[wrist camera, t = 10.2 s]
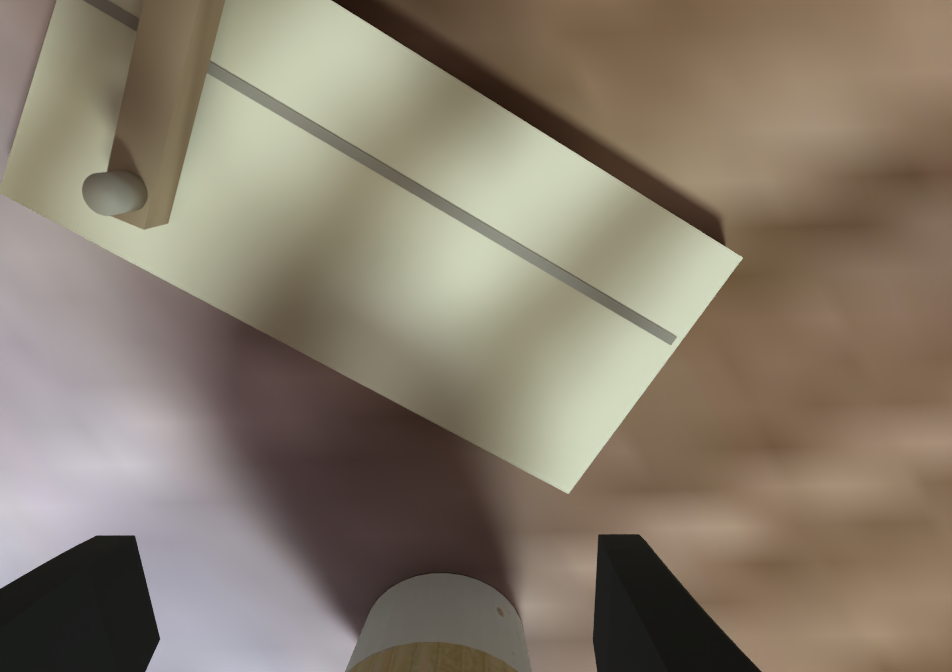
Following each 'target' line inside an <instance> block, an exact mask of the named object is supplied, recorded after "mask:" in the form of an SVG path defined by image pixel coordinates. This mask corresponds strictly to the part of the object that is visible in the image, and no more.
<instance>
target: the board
mask: <svg viewBox="0 0 952 672" xmlns="http://www.w3.org/2000/svg"><path fill="white" fill-rule="evenodd" d="M143 1H144V0H57V1H56V4H55V7H54V11H53V14H52V17H51V21H50V24H49V27H48V30H47V34H46V37H45V40H44V44H43V47H42V50H41V53H40V57H39V60H38V63H37V67H36V70H35V73H34V76H33V80H32V83H31V86H30V90H29V93H28V96H27V99H26V103H25V106H24V109H23V113H22V116H21V119H20V122H19V126H18V129H17V132H16V136H15V139H14V142H13V145H12V149H11V152H10V155H9V159H8V162H7V165H6V168H5V172H4V175H3V178H2V182H1V185H0V193H1V194H2V195H4V196H6V197H8V198H10V199H12V200H14V201H16V202H18V203H19V204H21V205H23V206H25V207H27V208H29V209H31V210H33V211H35V212H36V213H38V214H40V215H42V216H44V217H46V218H48V219H50V220H52V221H53V222H55V223H57V224H59V225H61V226H63V227H65V228H67V229H69V230H70V231H72V232H74V233H76V234H78V235H80V236H82V237H84V238H86V239H87V240H89V241H91V242H93V243H95V244H97V245H99V246H101V247H103V248H104V249H106V250H108V251H110V252H112V253H114V254H116V255H118V256H120V257H121V258H123V259H125V260H127V261H129V262H131V263H133V264H135V265H137V266H138V267H140V268H142V269H144V270H146V271H148V272H150V273H152V274H154V275H156V276H157V277H159V278H161V279H163V280H165V281H167V282H169V283H171V284H173V285H174V286H176V287H178V288H180V289H182V290H184V291H186V292H188V293H190V294H191V295H193V296H195V297H197V298H199V299H201V300H203V301H205V302H207V303H208V304H210V305H212V306H214V307H216V308H218V309H220V310H222V311H224V312H225V313H227V314H229V315H231V316H233V317H235V318H237V319H239V320H241V321H242V322H244V323H246V324H248V325H250V326H252V327H254V328H256V329H258V330H259V331H261V332H263V333H265V334H267V335H269V336H271V337H273V338H275V339H276V340H278V341H280V342H282V343H284V344H286V345H288V346H290V347H292V348H293V349H295V350H297V351H299V352H301V353H303V354H305V355H307V356H309V357H310V358H312V359H314V360H316V361H318V362H320V363H322V364H324V365H326V366H327V367H329V368H331V369H333V370H335V371H337V372H339V373H341V374H343V375H344V376H346V377H348V378H350V379H352V380H354V381H356V382H358V383H360V384H362V385H363V386H365V387H367V388H369V389H371V390H373V391H375V392H377V393H379V394H380V395H382V396H384V397H386V398H388V399H390V400H392V401H394V402H396V403H397V404H399V405H401V406H403V407H405V408H407V409H409V410H411V411H413V412H414V413H416V414H418V415H420V416H422V417H424V418H426V419H428V420H430V421H431V422H433V423H435V424H437V425H439V426H441V427H443V428H445V429H447V430H448V431H450V432H452V433H454V434H456V435H458V436H460V437H462V438H464V439H465V440H467V441H469V442H471V443H473V444H475V445H477V446H479V447H481V448H482V449H484V450H486V451H488V452H490V453H492V454H494V455H496V456H498V457H499V458H501V459H503V460H505V461H507V462H509V463H511V464H513V465H515V466H516V467H518V468H520V469H522V470H524V471H526V472H528V473H530V474H532V475H533V476H535V477H537V478H539V479H541V480H543V481H545V482H547V483H549V484H550V485H552V486H554V487H556V488H558V489H560V490H562V491H564V492H566V493H568V494H569V492H570V491H571V490H572V488H573V487H574V486H575V484H576V483H577V482H578V480H579V479H580V477H581V476H582V475H583V473H584V472H585V471H586V469H587V468H588V467H589V465H590V464H591V463H592V461H593V460H594V459H595V457H596V456H597V454H598V453H599V452H600V450H601V449H602V448H603V446H604V445H605V444H606V442H607V441H608V440H609V438H610V437H611V436H612V434H613V433H614V431H615V430H616V429H617V427H618V426H619V425H620V423H621V422H622V421H623V419H624V418H625V417H626V415H627V414H628V413H629V411H630V410H631V408H632V407H633V406H634V404H635V403H636V402H637V400H638V399H639V398H640V396H641V395H642V394H643V392H644V391H645V390H646V388H647V387H648V386H649V384H650V383H651V381H652V380H653V379H654V377H655V376H656V375H657V373H658V372H659V371H660V369H661V368H662V367H663V365H664V364H665V363H666V361H667V360H668V358H669V357H670V356H671V354H672V353H673V352H674V350H675V349H676V348H677V346H678V345H679V344H680V342H681V341H682V340H683V338H684V337H685V335H686V334H687V333H688V331H689V330H690V329H691V327H692V326H693V325H694V323H695V322H696V321H697V319H698V318H699V317H700V315H701V314H702V312H703V311H704V310H705V308H706V307H707V306H708V304H709V303H710V302H711V300H712V299H713V298H714V296H715V295H716V294H717V292H718V291H719V289H720V288H721V287H722V285H723V284H724V283H725V281H726V280H727V279H728V277H729V276H730V275H731V273H732V272H733V271H734V269H735V268H736V266H737V265H738V264H739V262H740V261H741V260H742V257H741V256H739V255H738V254H736V253H734V252H733V251H731V250H730V249H728V248H726V247H725V246H723V245H722V244H720V243H718V242H717V241H715V240H714V239H712V238H710V237H709V236H707V235H706V234H704V233H702V232H701V231H699V230H698V229H696V228H695V227H693V226H691V225H690V224H688V223H687V222H685V221H683V220H682V219H680V218H679V217H677V216H675V215H674V214H672V213H671V212H669V211H667V210H666V209H664V208H663V207H661V206H659V205H658V204H656V203H655V202H653V201H651V200H650V199H648V198H647V197H645V196H643V195H642V194H640V193H639V192H637V191H635V190H634V189H632V188H631V187H629V186H627V185H626V184H624V183H623V182H621V181H619V180H618V179H616V178H615V177H613V176H611V175H610V174H608V173H607V172H605V171H603V170H602V169H600V168H599V167H597V166H595V165H594V164H592V163H591V162H589V161H587V160H586V159H584V158H583V157H581V156H579V155H578V154H576V153H575V152H573V151H571V150H570V149H568V148H567V147H565V146H563V145H562V144H560V143H559V142H557V141H555V140H554V139H552V138H551V137H549V136H547V135H546V134H544V133H543V132H541V131H539V130H538V129H536V128H535V127H533V126H531V125H530V124H528V123H527V122H525V121H523V120H522V119H520V118H519V117H517V116H515V115H514V114H512V113H511V112H509V111H507V110H506V109H504V108H503V107H501V106H499V105H498V104H496V103H495V102H493V101H491V100H490V99H488V98H487V97H485V96H483V95H482V94H480V93H479V92H477V91H476V90H474V89H472V88H471V87H469V86H468V85H466V84H464V83H463V82H461V81H460V80H458V79H456V78H455V77H453V76H452V75H450V74H448V73H447V72H445V71H444V70H442V69H440V68H439V67H437V66H436V65H434V64H432V63H431V62H429V61H428V60H426V59H424V58H423V57H421V56H420V55H418V54H416V53H415V52H413V51H412V50H410V49H408V48H407V47H405V46H404V45H402V44H400V43H399V42H397V41H396V40H394V39H392V38H391V37H389V36H388V35H386V34H384V33H383V32H381V31H380V30H378V29H376V28H375V27H373V26H372V25H370V24H368V23H367V22H365V21H364V20H362V19H360V18H359V17H357V16H356V15H354V14H352V13H351V12H349V11H348V10H346V9H344V8H343V7H341V6H340V5H338V4H336V3H335V2H333V1H332V0H225V3H224V7H223V11H222V15H221V19H220V23H219V27H218V31H217V35H216V39H215V43H214V47H213V50H212V54H211V58H210V62H209V66H208V70H207V74H206V78H205V82H204V86H203V90H202V93H201V97H200V101H199V105H198V109H197V113H196V117H195V121H194V125H193V129H192V133H191V137H190V140H189V144H188V148H187V152H186V156H185V160H184V164H183V168H182V172H181V176H180V180H179V184H178V187H177V191H176V195H175V199H174V203H173V207H172V211H171V215H170V219H169V223H168V224H164V225H161V226H157V227H153V228H149V229H145V230H143V229H141V228H138V227H136V226H134V225H131V224H129V223H126V222H124V221H121V220H119V219H116V218H114V217H112V216H103V215H100V214H97V213H95V212H94V211H93V210H91V209H90V208H89V207H88V205H87V204H86V202H85V201H84V198H83V195H82V186H83V183H84V181H85V179H86V178H87V177H88V176H89V175H91V174H94V173H102V172H107V168H108V164H109V159H110V154H111V150H112V145H113V140H114V136H115V131H116V127H117V122H118V117H119V113H120V108H121V103H122V99H123V94H124V89H125V85H126V80H127V75H128V71H129V66H130V62H131V57H132V52H133V48H134V43H135V38H136V34H137V29H138V24H139V20H140V15H141V10H142V6H143Z"/></svg>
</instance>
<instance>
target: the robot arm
mask: <svg viewBox="0 0 952 672" xmlns="http://www.w3.org/2000/svg"><path fill="white" fill-rule="evenodd" d="M159 640H160V637H159V633H158V629H157V624H156V620H155V616H154V612H153V608H152V604H151V600H150V596H149V592H148V588H147V583H146V579H145V575H144V571H143V567H142V563H141V559H140V555H139V551H138V547H137V542H136V538H135V536H95V537H93V538H91V539H89V540H87V541H85V542H83V543H81V544H79V545H77V546H75V547H73V548H71V549H69V550H68V551H66V552H64V553H62V554H60V555H58V556H57V557H55V558H53V559H51V560H50V561H48V562H46V563H44V564H42V565H41V566H39V567H37V568H35V569H34V570H32V571H30V572H29V573H27V574H25V575H23V576H22V577H20V578H18V579H16V580H15V581H13V582H11V583H10V584H8V585H6V586H4V587H3V588H1V589H0V672H145V671H146V669H147V667H148V664H149V662H150V660H151V658H152V656H153V653H154V651H155V649H156V647H157V645H158V642H159ZM593 644H594V651H595V658H596V665H597V672H761V671H760V670H759V669H758V668H757V667H756V665H755V664H754V663H753V662H752V661H751V660H750V659H749V658H748V657H747V656H746V655H745V654H744V653H743V652H742V651H741V650H740V649H739V648H738V647H737V646H736V644H735V643H734V642H733V641H732V640H731V639H730V638H729V637H728V636H727V635H726V634H725V633H724V631H723V630H722V629H721V628H720V627H719V626H718V625H717V624H716V623H715V622H714V621H713V620H712V618H711V617H710V616H709V615H708V614H707V613H706V612H705V611H704V610H703V608H702V607H701V606H700V605H699V604H698V603H697V602H696V601H695V599H694V598H693V597H692V596H691V595H690V594H689V592H688V591H687V590H686V589H685V588H684V587H683V585H682V584H681V583H680V582H679V581H678V580H677V578H676V577H675V576H674V575H673V574H672V572H671V571H670V570H669V569H668V568H667V566H666V565H665V564H664V563H663V562H662V560H661V559H660V558H659V557H658V556H657V554H656V553H655V552H654V551H653V550H652V548H651V547H650V546H649V545H648V543H647V542H646V541H645V540H644V539H643V538H642V537H641V536H640V535H639V534H610V535H598V554H597V573H596V592H595V611H594V630H593Z"/></svg>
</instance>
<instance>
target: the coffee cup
mask: <svg viewBox="0 0 952 672" xmlns="http://www.w3.org/2000/svg"><path fill="white" fill-rule="evenodd" d="M345 672H532V669H531V664H530V660H529V655H528V650H527V645H526V640H525V635H524V631H523V627H522V623H521V620H520V617H519V616H518V614H517V612H516V610H515V608H514V607H513V606H512V604H511V603H510V602H509V601H508V600H507V599H506V598H505V597H504V596H503V595H502V594H501V593H499V592H498V591H497V590H495V589H494V588H493V587H491V586H489V585H487V584H485V583H483V582H481V581H479V580H476V579H473V578H470V577H467V576H463V575H457V574H450V573H431V574H426V575H420V576H415V577H412V578H410V579H407V580H404V581H401V582H400V583H398V584H396V585H395V586H393V587H391V588H390V589H388V590H387V591H386V592H385V593H384V594H383V595H382V596H380V597H379V598H378V600H377V601H376V602H375V604H374V605H373V607H372V608H371V610H370V612H369V615H368V617H367V620H366V622H365V624H364V627H363V629H362V632H361V634H360V637H359V639H358V641H357V644H356V646H355V649H354V651H353V654H352V656H351V659H350V661H349V663H348V666H347V668H346V671H345Z"/></svg>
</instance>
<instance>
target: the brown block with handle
mask: <svg viewBox="0 0 952 672" xmlns="http://www.w3.org/2000/svg"><path fill="white" fill-rule="evenodd" d="M224 3H225V0H144V1H143V6H142V10H141V15H140V20H139V24H138V29H137V34H136V38H135V43H134V48H133V52H132V57H131V62H130V66H129V71H128V75H127V80H126V85H125V89H124V94H123V99H122V103H121V108H120V113H119V117H118V122H117V127H116V131H115V136H114V140H113V145H112V150H111V154H110V159H109V164H108V168H107V172H102V173H94V174H91V175H89V176H88V177H87V178H86V179H85V181H84V183H83V186H82V195H83V198H84V201H85V202H86V204H87V205H88V207H89V208H90V209H91V210H93V211H94V212H95V213H97V214H100V215H103V216H112V217H114V218H116V219H119V220H121V221H124V222H126V223H129V224H131V225H134V226H136V227H138V228H141V229H143V230H145V229H149V228H153V227H157V226H161V225H164V224H168V223H169V219H170V215H171V211H172V207H173V203H174V199H175V195H176V191H177V187H178V184H179V180H180V176H181V172H182V168H183V164H184V160H185V156H186V152H187V148H188V144H189V140H190V137H191V133H192V129H193V125H194V121H195V117H196V113H197V109H198V105H199V101H200V97H201V93H202V90H203V86H204V82H205V78H206V74H207V70H208V66H209V62H210V58H211V54H212V50H213V47H214V43H215V39H216V35H217V31H218V27H219V23H220V19H221V15H222V11H223V7H224Z"/></svg>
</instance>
